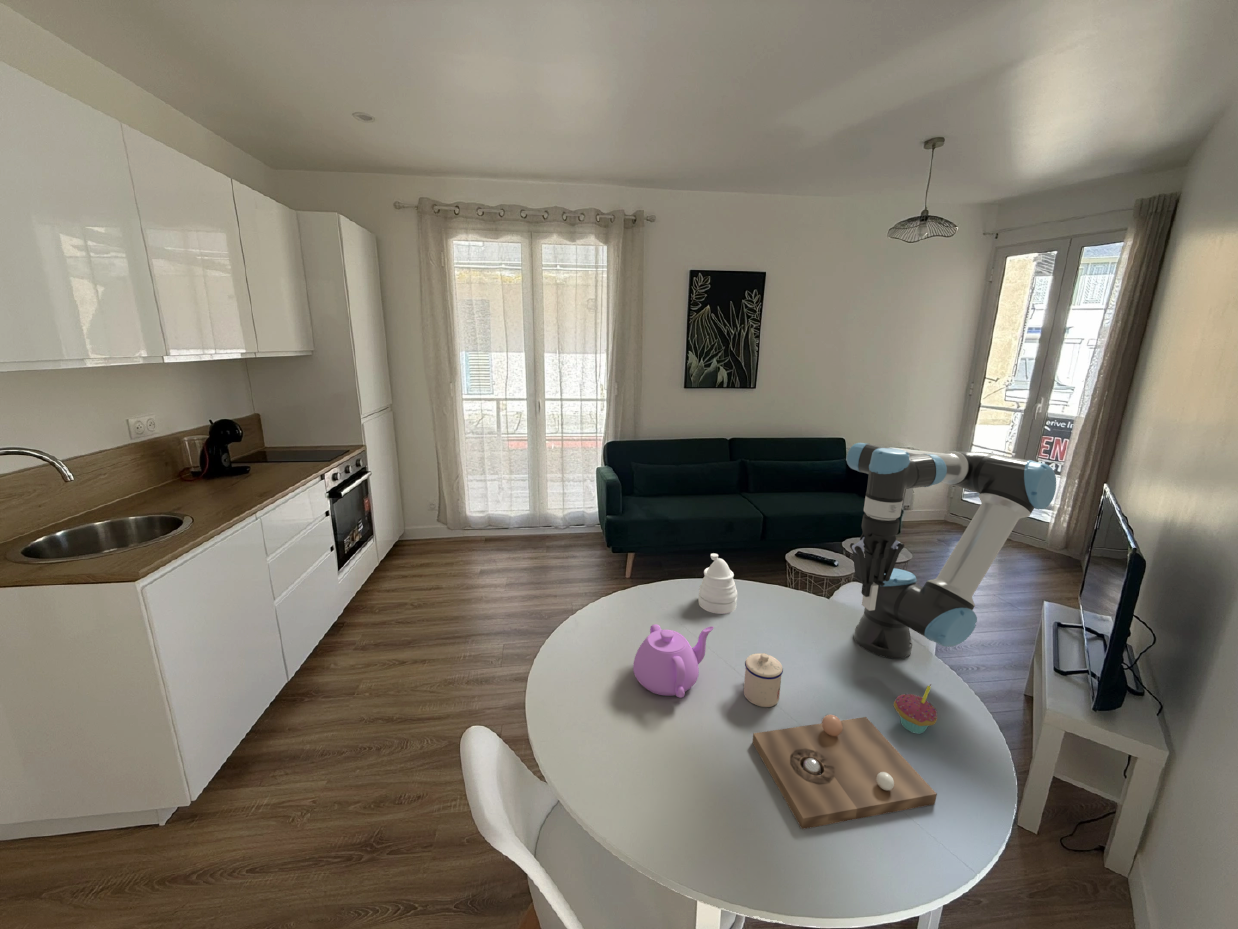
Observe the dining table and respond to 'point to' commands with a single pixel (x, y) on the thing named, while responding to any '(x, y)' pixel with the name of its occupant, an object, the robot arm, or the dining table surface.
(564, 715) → the dining table surface
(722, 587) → the honey pot
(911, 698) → the cupcake
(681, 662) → the teapot
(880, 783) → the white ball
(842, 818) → the wooden board
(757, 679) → the teacup with lid
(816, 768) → the steel ball
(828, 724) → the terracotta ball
